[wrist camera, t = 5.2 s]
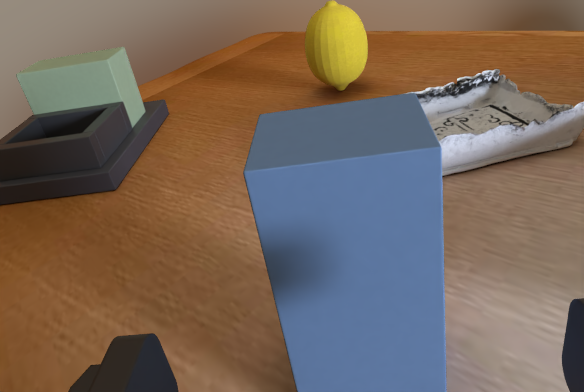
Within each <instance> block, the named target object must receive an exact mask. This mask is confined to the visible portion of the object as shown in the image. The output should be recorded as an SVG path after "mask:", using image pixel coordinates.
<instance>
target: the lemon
mask: <svg viewBox="0 0 584 392" xmlns="http://www.w3.org/2000/svg"><path fill="white" fill-rule="evenodd" d="M305 53H306V58H307V62H308V64H309V67H310V69H311V71H312V72H313V74H314V75H315V76H316V77H317V78H318V79H319V80H320V81H321V82H323V83H325V84H327V85H332V86H333V87H335V88H336V89H337V90H339V91H342V90H344V89H345V88H346V87H347V86H348V84H349V83H350V82H352V81H354V80H355V79H356V78H357V77H358V76H359V75H360V74H361V73H362V71H363V69H364V67H365V64H366V61H367V55H368V42H367V37H366V32H365V29H364V26H363V24H362V22H361V20H360V18H359V17H358V15H357V14H356V13H355V12H354V11H353V10H351V9H350V8H348V7H346V6H343V5H340V4H337V3H336V2H335V1H328V2H327V3H326V4H325V6H324V7H322V8H321V9H319V10H318V11H317V12H316V13H315V14H314V15H313V16H312V18H311V19H310V21H309V23H308V26H307V30H306V35H305Z"/></svg>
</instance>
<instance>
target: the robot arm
mask: <svg viewBox="0 0 584 392" xmlns="http://www.w3.org/2000/svg"><path fill="white" fill-rule="evenodd" d="M562 366H563V372H564V376H565V380H566V383H567V386H568V388H569V391H570V392H584V298H582V299H574V300H572V302H571V304H570V307H569V313H568V320H567V326H566V333H565V339H564V346H563V352H562ZM68 392H178V386H177V382H176V379H175V377H174V375H173V372H172V370H171V368H170V365H169V363H168V360H167V358H166V356H165V353H164V351H163V349H162V346H161V344H160V342H159V339H158V337H157V336H156V335H155V334H153V333H152V334H140V335H128V336H118V337H116V338H114V339H113V341H112V342H111V344H110V346H109V348H108V350H107V352H106V354H105V356H104V359H103V361H102V363H101V364H99V365H91V366H90V367H89V368H88V369H87V370H86V371H85V372H84V373H83V374H82V376H81V377H80V378H79V379H78V380H77V381H76V382H75V383H74V384H73V385H72V386H71V387H70V389H69V391H68Z"/></svg>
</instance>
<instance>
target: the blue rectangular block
mask: <svg viewBox="0 0 584 392" xmlns="http://www.w3.org/2000/svg"><path fill="white" fill-rule="evenodd" d="M243 174H244V178H245V182H246V186H247V190H248V194H249V198H250V202H251V206H252V210H253V214H254V218H255V222H256V226H257V231H258V235H259V239H260V243H261V247H262V251H263V255H264V259H265V263H266V267H267V271H268V275H269V279H270V283H271V287H272V291H273V295H274V300H275V304H276V308H277V312H278V316H279V320H280V324H281V328H282V332H283V336H284V340H285V344H286V348H287V352H288V356H289V360H290V364H291V369H292V373H293V377H294V381H295V385H296V389H297V392H446V346H445V294H444V242H443V190H442V147H441V145H440V143H439V141H438V139H437V137H436V135H435V133H434V131H433V129H432V127H431V125H430V122H429V120H428V118H427V116H426V114H425V112H424V110H423V108H422V106H421V104H420V102H419V100H418V98H417V96H416V93H408V94H401V95H394V96H387V97H380V98H373V99H366V100H359V101H352V102H345V103H338V104H331V105H323V106H316V107H309V108H302V109H295V110H288V111H281V112H274V113H267V114H260V115H259V118H258V122H257V126H256V129H255V133H254V136H253V140H252V143H251V147H250V151H249V154H248V158H247V161H246V165H245V169H244V172H243Z"/></svg>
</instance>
